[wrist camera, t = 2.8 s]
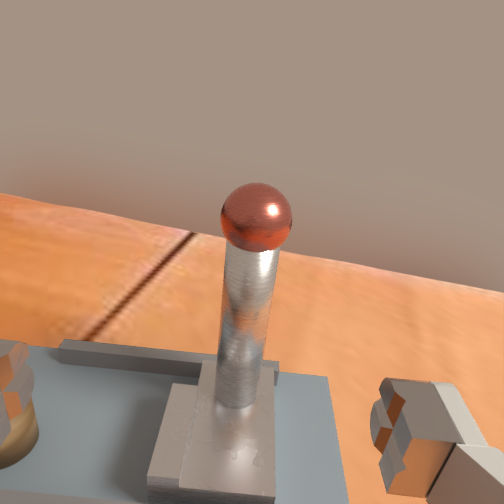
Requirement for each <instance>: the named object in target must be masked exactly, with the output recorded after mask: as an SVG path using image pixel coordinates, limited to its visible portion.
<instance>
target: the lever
mask: <svg viewBox="0 0 504 504" xmlns="http://www.w3.org/2000/svg"><path fill="white" fill-rule="evenodd" d="M291 226H292V212H291V208H290V205H289V203H288V201H287V199H286V198H285V197H284V195H283V194H282V193H281V192H280V191H278V190H277V189H276V188H274V187H272V186H270V185H267V184H263V183H250V184H246V185H243V186H241V187H239V188H237V189H236V190H234V191H233V192H232V193H231V194H230V195H229V196H228V197H227V199H226V201H225V203H224V205H223V207H222V210H221V227H222V231H223V233H224V235H225V237H226V239H227V242H226V255H225V267H224V279H223V291H222V303H221V315H220V327H219V339H218V352H217V361H207V360H203V363H202V368H201V373H200V378H199V382H198V386H195V385H186V384H176V383H173V384H172V388H171V391H170V395H169V398H168V402H167V406H166V409H165V413H164V416H163V420H162V423H161V427H160V431H159V434H158V438H157V441H156V445H155V448H154V452H153V455H152V459H151V463H150V466H149V470H148V473H147V494H148V504H274V502H275V498H276V482H275V413H274V367H264V366H262V361H263V355H264V348H265V342H266V336H267V329H268V323H269V316H270V310H271V303H272V297H273V290H274V284H275V277H276V271H277V265H278V258H279V252H280V245H281V244H283V242H284V241H285V240H286V238H287V237H288V235H289V232H290V230H291Z"/></svg>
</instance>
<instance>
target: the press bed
mask: <svg viewBox="0 0 504 504" xmlns="http://www.w3.org/2000/svg"><path fill="white" fill-rule="evenodd" d="M27 347H28V351H29V354H30V355H29V357H28V358H27V360H26V361H25V363H26V364H27V365H28V366H29V367H30V368H31V369H32V370H33V373H34V389H33V392H32V395H31V397H32V402H33V406H34V410H35V415H36V419H37V424H38V428H39V437H38V440H37V443H36V445H35V446H34V448H33V449H32V450H31V452H30V453H29V454H28V455H27V456H26V457H24V458H23V459H22V460H20V461H19V462H17V463H16V464H14V465H12V466H10V467H7V468H4V469H1V470H0V504H148V494H147V473H148V470H149V466H150V463H151V459H152V455H153V452H154V448H155V445H156V441H157V438H158V434H159V431H160V427H161V423H162V420H163V416H164V413H165V409H166V406H167V402H168V398H169V395H170V391H171V388H172V384H173V383H176V384H186V385H195V386H198V382H199V378H200V373H201V368H202V363H203V360H207V361H217V355H212V354H203V353H193V352H184V351H174V350H165V349H155V348H146V347H136V346H127V345H117V344H108V343H98V342H89V341H79V340H70V339H64V340H63V342H62V343H61V345H60V346H59V348H49V347H39V346H30V345H27ZM262 366H264V367H274V413H275V482H276V498H275V502H274V504H349V500H348V494H347V488H346V483H345V477H344V471H343V465H342V459H341V454H340V448H339V442H338V436H337V430H336V425H335V419H334V413H333V407H332V401H331V396H330V390H329V384H328V378H327V377H325V376H315V375H306V374H296V373H287V372H279V362H278V361H269V360H263V361H262Z"/></svg>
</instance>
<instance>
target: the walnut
mask: <svg viewBox="0 0 504 504" xmlns="http://www.w3.org/2000/svg"><path fill="white" fill-rule="evenodd" d="M10 425H11V431H10V433H9V434H8V436H7V437H6V439H5V440H4V442H3V443H2V445H1V447H0V470H1V469H4V468H7V467H10V466H12V465H14V464H16V463H17V462H19V461H20V460H22V459H23V458H24V457H26V456H27V455H28V454H29V453H30V452H31V450H32V449H33V448H34V446H35V445H36V443H37V440H38V437H39V428H38V424H37V419H36V415H35V410H34V406H33V402H32V397H31V398H30V401H29V403H28V404H27V406H26V408H25V409H24V411H23V412H22V413H21V414H19V415H18V416H16V417H14V418H13V419H11V420H10Z"/></svg>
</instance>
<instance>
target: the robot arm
mask: <svg viewBox="0 0 504 504" xmlns="http://www.w3.org/2000/svg"><path fill="white" fill-rule="evenodd" d="M29 355H30V354H29V351H28V347H27V344H26V343H23V342H19V341H11V340H3V339H0V447H1V445H2V443H3V442H4V440H5V439H6V437H7V436H8V434H9V433H10V431H11V425H10V420H11V419H13V418H14V417H16V416H18V415H19V414H21V413H22V412H23V411H24V409H25V408H26V406H27V404H28V403H29V401H30V398H31V395H32V392H33V389H34V373H33V370H32V369H31V368H30V367H29V366H28V365H27V364H26V363H25V361H26V360H27V358H28V357H29ZM379 391H380V394H381V397H382V398H380V399H379V400H378V401H376V402H375V403H374V405H373V408H372V411H371V418H370V429H371V436H372V440H373V444H374V446H375V447H376V448H377V449H378V450H379V451H380V452H381V453H382V454H383V455H382V457H381V460H380V462H379V466H380V470H381V474H382V477H383V481H384V484H385V488H386V492H387V494H394V495H402V496H411V497H419V498H427V499H426V501H427V502H428V504H504V453H502V452H501V451H500V450H499V449H497V448H496V447H489V445H488V443H487V442H486V440H485V438H484V436H483V435H482V433H481V431H480V429H479V427H478V426H477V424H476V422H475V420H474V418H473V417H472V415H471V413H470V411H469V409H468V408H467V406H466V404H465V402H464V400H463V399H462V397H461V395H460V393H459V392H458V390H457V388H456V387H455V386H454V385H453V384H452V383H444V382H432V381H429V382H427V381H420V380H409V379H397V378H385V379H384V380H383V381H382V383H381V385H380V388H379Z"/></svg>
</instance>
